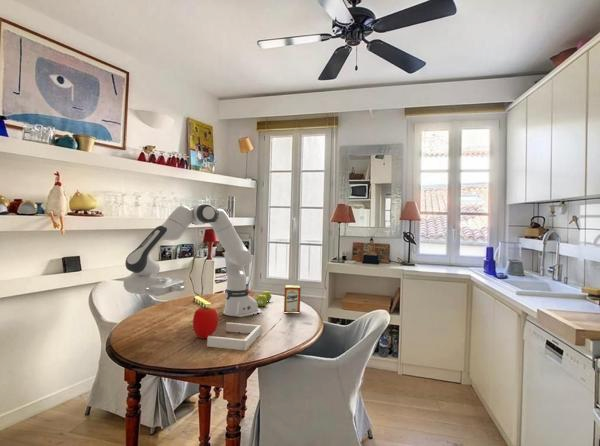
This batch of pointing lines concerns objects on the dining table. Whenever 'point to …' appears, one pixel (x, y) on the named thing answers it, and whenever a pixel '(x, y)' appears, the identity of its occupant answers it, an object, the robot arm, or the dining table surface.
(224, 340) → the white tray
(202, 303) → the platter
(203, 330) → the red apple
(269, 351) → the dining table surface
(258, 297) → the dumbbell
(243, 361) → the dining table surface
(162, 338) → the dining table surface
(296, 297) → the baking soda box
